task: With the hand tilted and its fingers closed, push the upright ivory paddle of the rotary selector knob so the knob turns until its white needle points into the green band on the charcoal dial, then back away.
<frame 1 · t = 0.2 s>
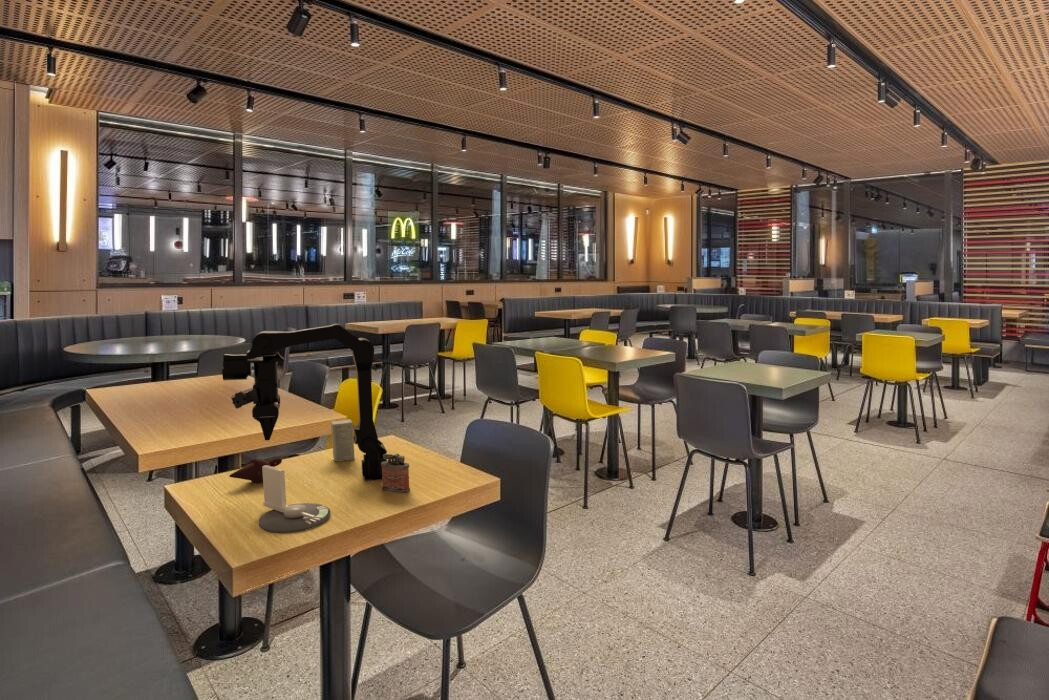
hand: (268, 435, 166), 15 cm above the table, tool pointing down, fingers open, 9 cm apart
lighter: (396, 491, 166), on the table
maroon gnome figurine: (257, 483, 173), on the table
rotary selector knob: (288, 492, 147), point 6 cm above the table, hinge at 0.0°
skincare box: (343, 459, 194), on the table
tuner dial: (295, 518, 147), on the table
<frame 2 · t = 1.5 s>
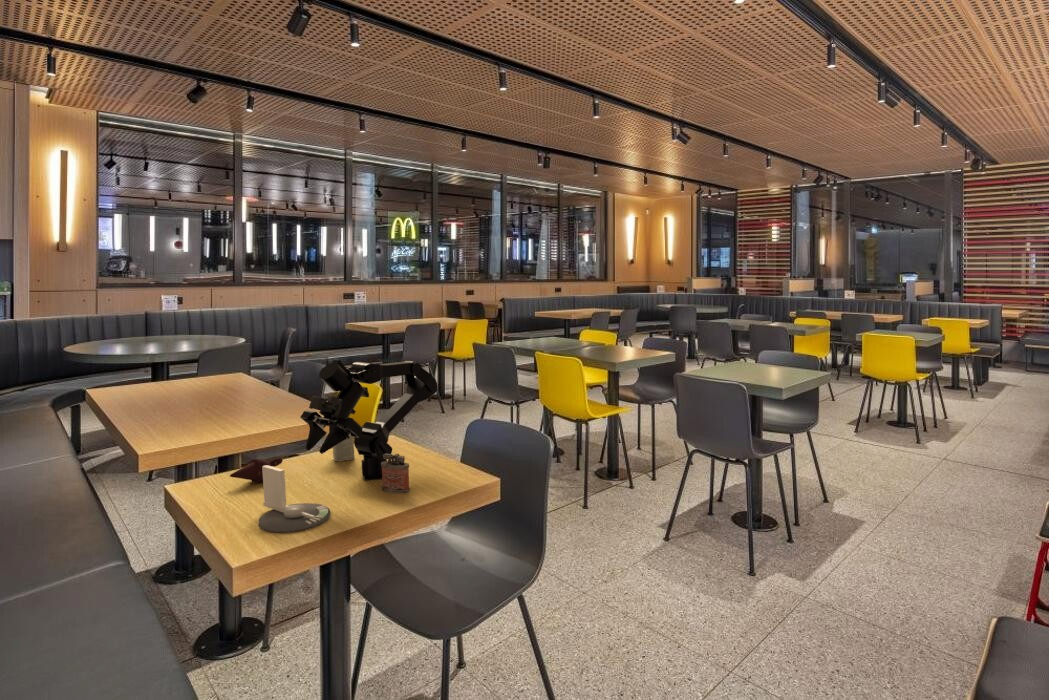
hand: (313, 451, 159), 13 cm above the table, tool tilted 45°, fingers open, 5 cm apart
nothing on the table moved.
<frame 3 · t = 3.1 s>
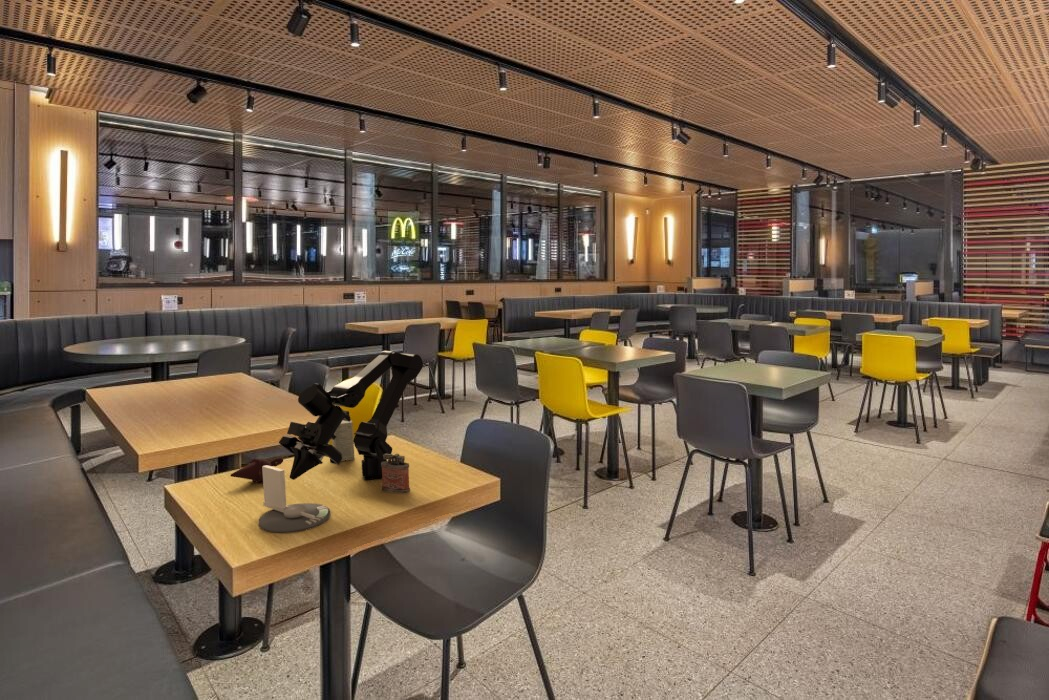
hand: (291, 478, 153), 7 cm above the table, tool tilted 45°, fingers closed
nothing on the table moved.
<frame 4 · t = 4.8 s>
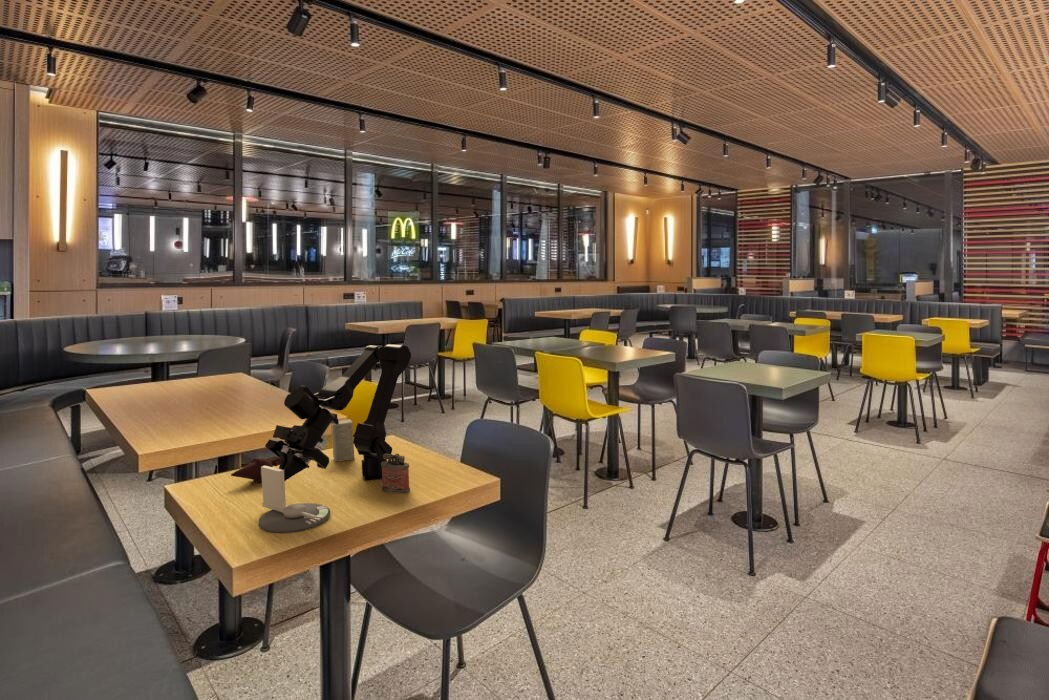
hand: (277, 483, 150), 7 cm above the table, tool tilted 45°, fingers closed, pressing on rotary selector knob
rotary selector knob: (288, 492, 147), point 6 cm above the table, hinge at 1.8°, touching gripper
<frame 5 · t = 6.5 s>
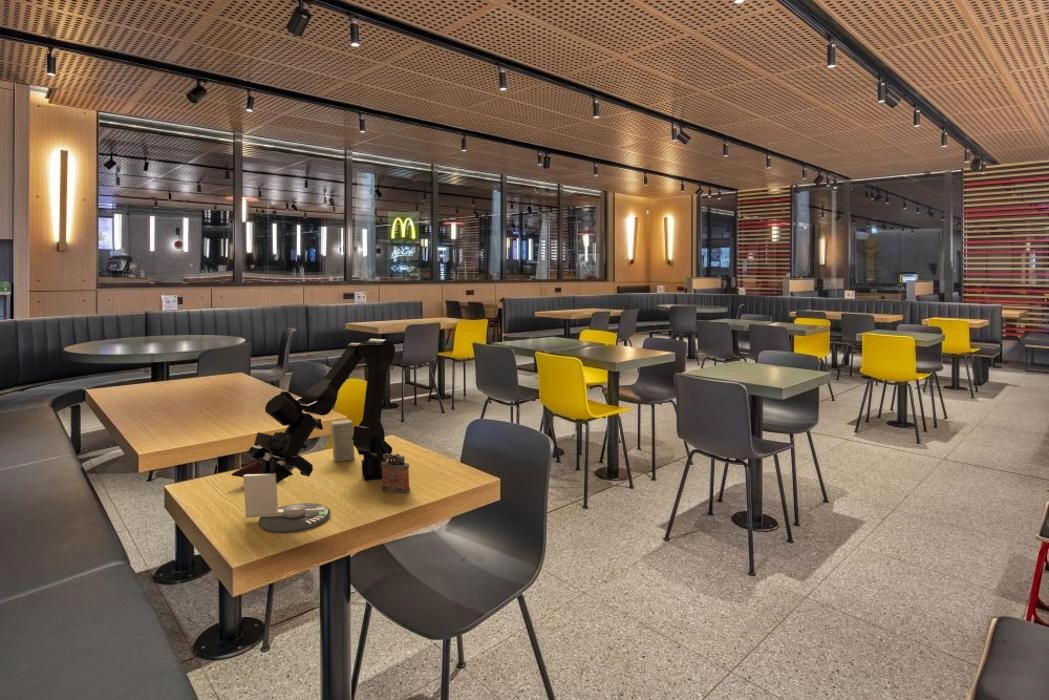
hand: (259, 492, 146), 7 cm above the table, tool tilted 45°, fingers closed
rotary selector knob: (285, 494, 146), point 6 cm above the table, hinge at 39.0°, touching gripper
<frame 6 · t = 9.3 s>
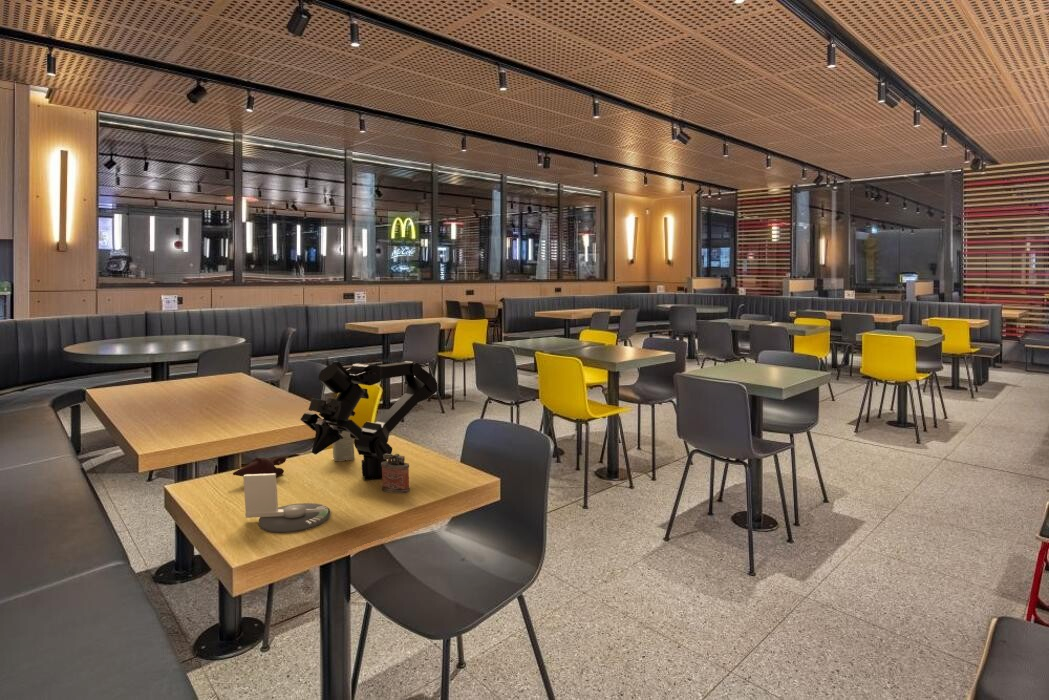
hand: (313, 453, 159), 12 cm above the table, tool tilted 45°, fingers closed
rotary selector knob: (285, 494, 146), point 6 cm above the table, hinge at 39.0°
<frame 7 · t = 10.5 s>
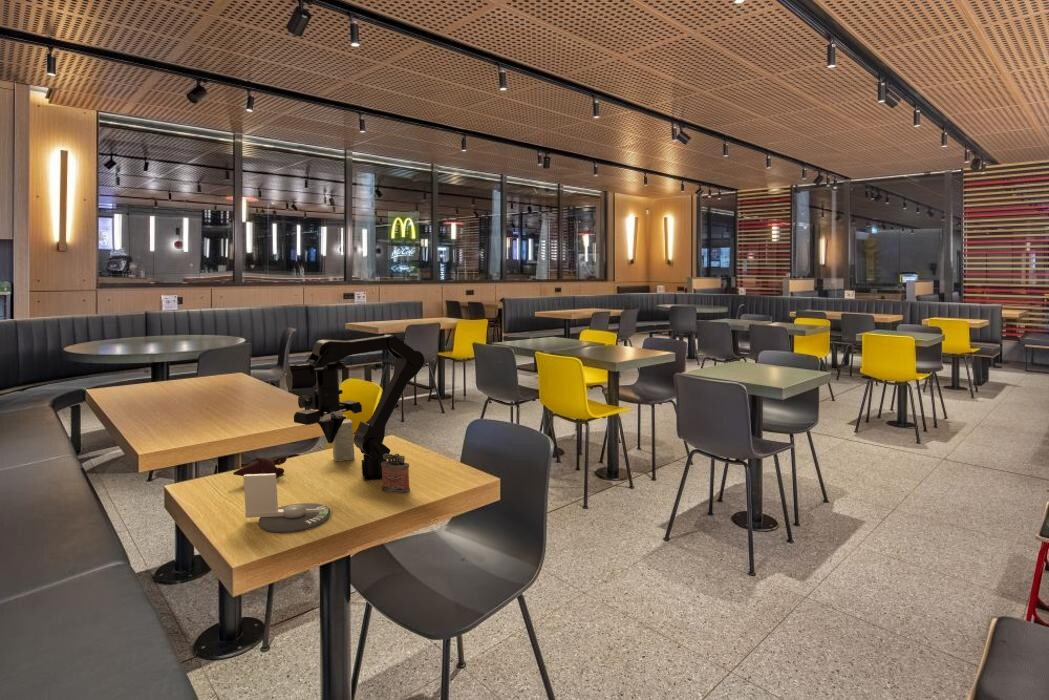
hand: (330, 442, 168), 12 cm above the table, tool pointing down, fingers closed
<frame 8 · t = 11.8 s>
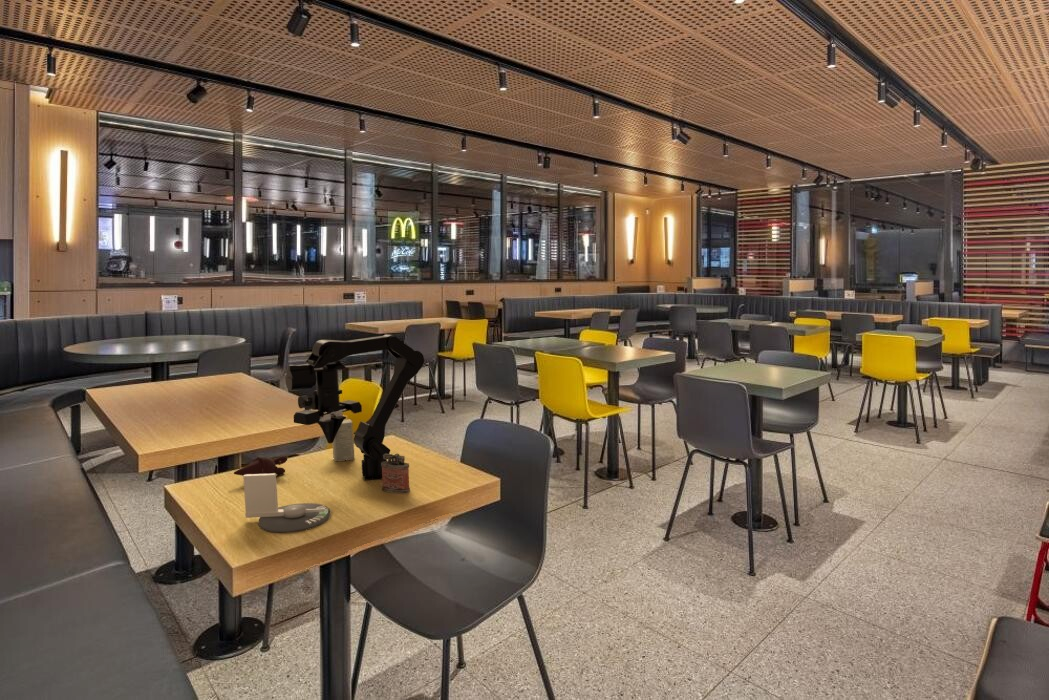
hand: (330, 443, 168), 12 cm above the table, tool pointing down, fingers closed
at the end: rotary selector knob at +39° (first picture: +0°); maroon gnome figurine moved 2.2 cm from its start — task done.
